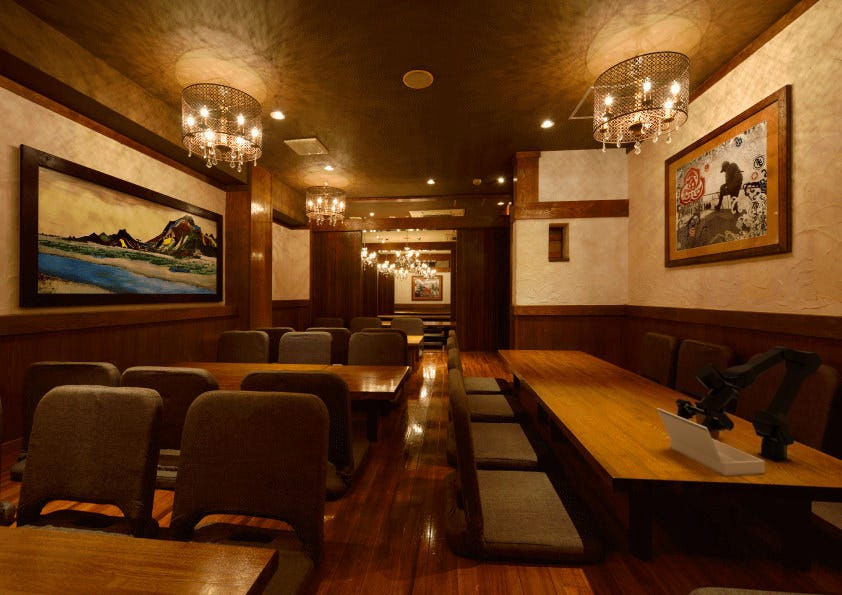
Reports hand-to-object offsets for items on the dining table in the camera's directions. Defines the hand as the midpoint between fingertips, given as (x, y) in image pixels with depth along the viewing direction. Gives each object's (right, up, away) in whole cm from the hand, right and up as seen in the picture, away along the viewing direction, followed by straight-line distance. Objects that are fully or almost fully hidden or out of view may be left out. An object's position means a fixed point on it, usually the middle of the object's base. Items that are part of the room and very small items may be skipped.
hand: (686, 431), depth 129 cm
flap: (0, 0, 0) cm, 0 cm away
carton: (+10, -10, +1) cm, 14 cm away
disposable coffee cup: (+24, -10, +22) cm, 34 cm away
